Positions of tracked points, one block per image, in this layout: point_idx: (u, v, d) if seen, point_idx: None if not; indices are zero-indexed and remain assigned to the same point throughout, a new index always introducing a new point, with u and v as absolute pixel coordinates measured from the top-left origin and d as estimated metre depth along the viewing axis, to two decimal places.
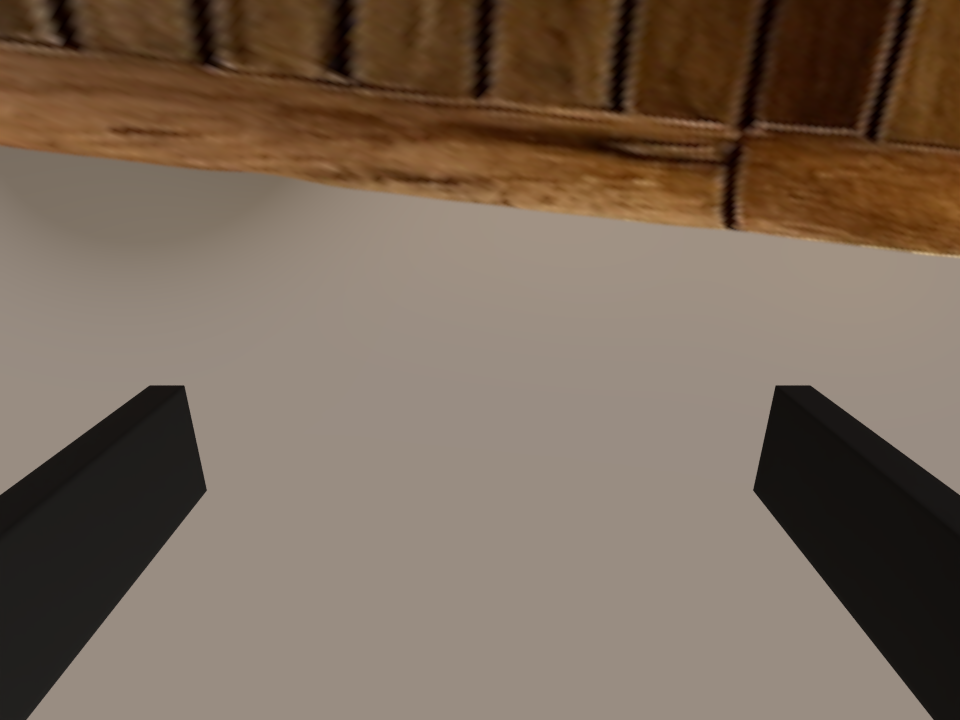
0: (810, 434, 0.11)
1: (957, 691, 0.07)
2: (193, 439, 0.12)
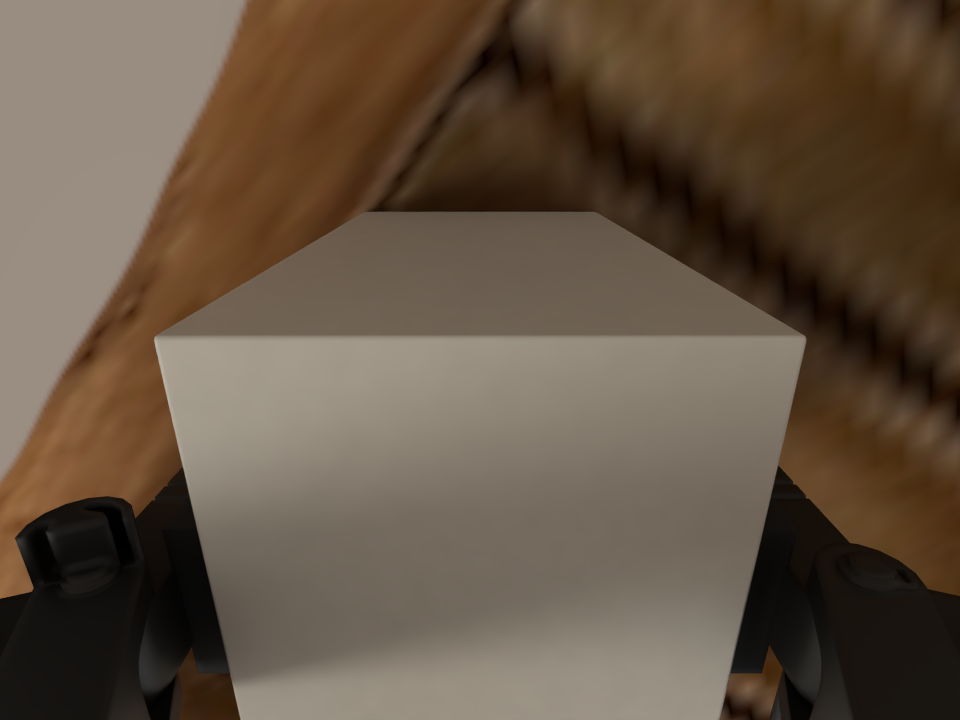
0: None
1: None
2: None
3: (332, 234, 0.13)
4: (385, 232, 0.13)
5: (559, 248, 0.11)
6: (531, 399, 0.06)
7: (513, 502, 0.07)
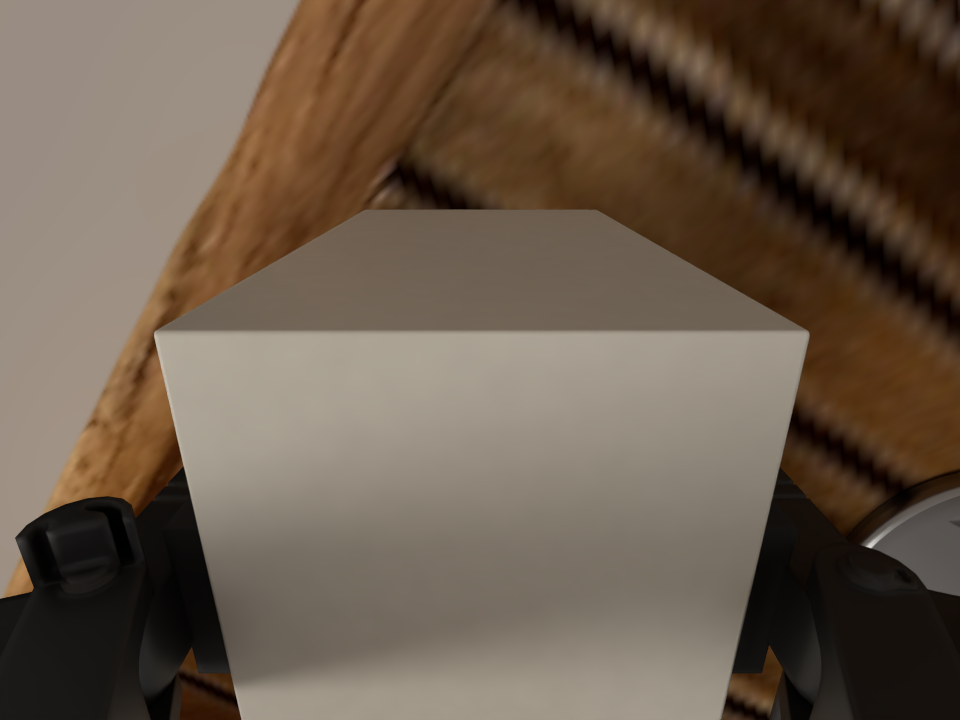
0: None
1: None
2: None
3: (332, 231, 0.13)
4: (386, 229, 0.13)
5: (560, 245, 0.11)
6: (533, 394, 0.06)
7: (514, 499, 0.07)
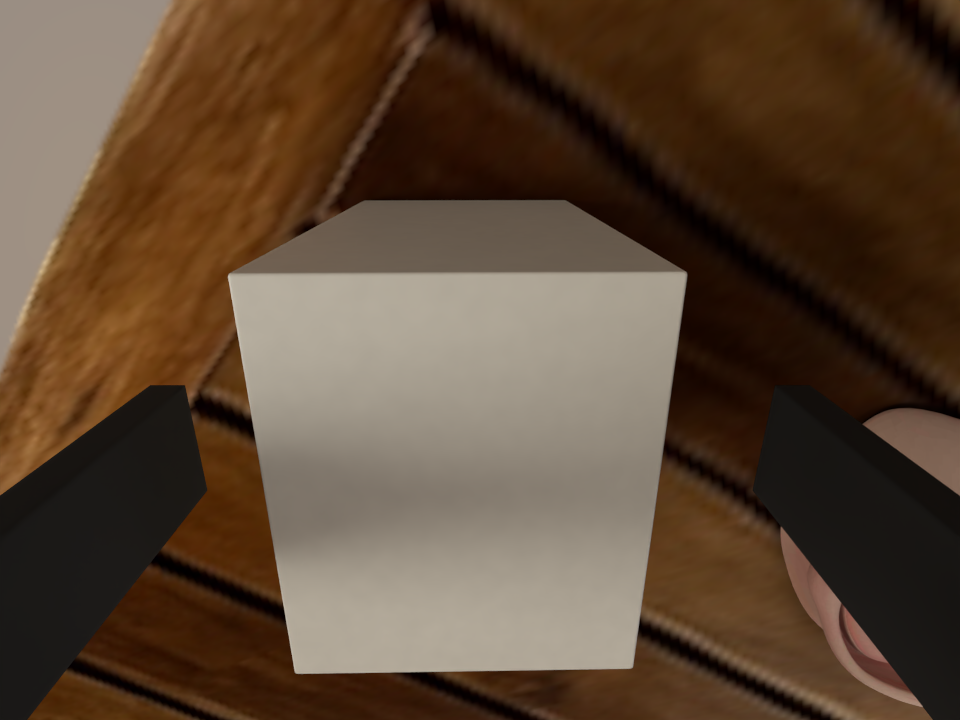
0: (809, 434, 0.11)
1: (956, 691, 0.07)
2: (193, 439, 0.12)
3: (340, 216, 0.15)
4: (384, 214, 0.16)
5: (527, 224, 0.14)
6: (496, 319, 0.09)
7: (484, 398, 0.09)
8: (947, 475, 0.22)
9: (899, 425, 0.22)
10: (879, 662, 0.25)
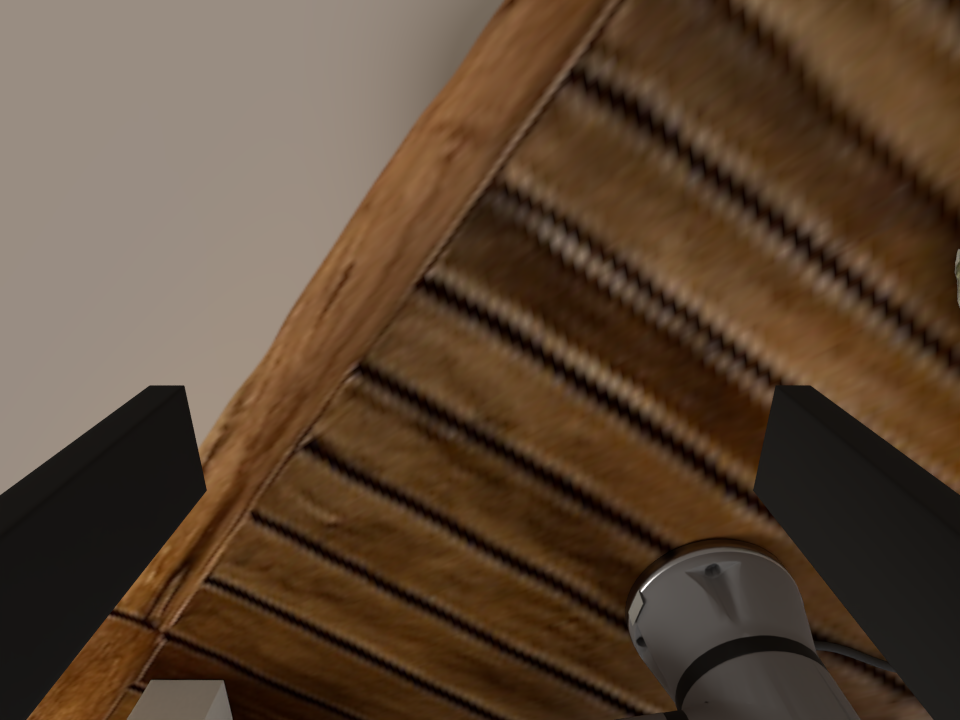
0: (810, 433, 0.11)
1: (957, 691, 0.07)
2: (193, 439, 0.12)
3: None
4: None
5: None
6: None
7: None
8: None
9: None
10: None
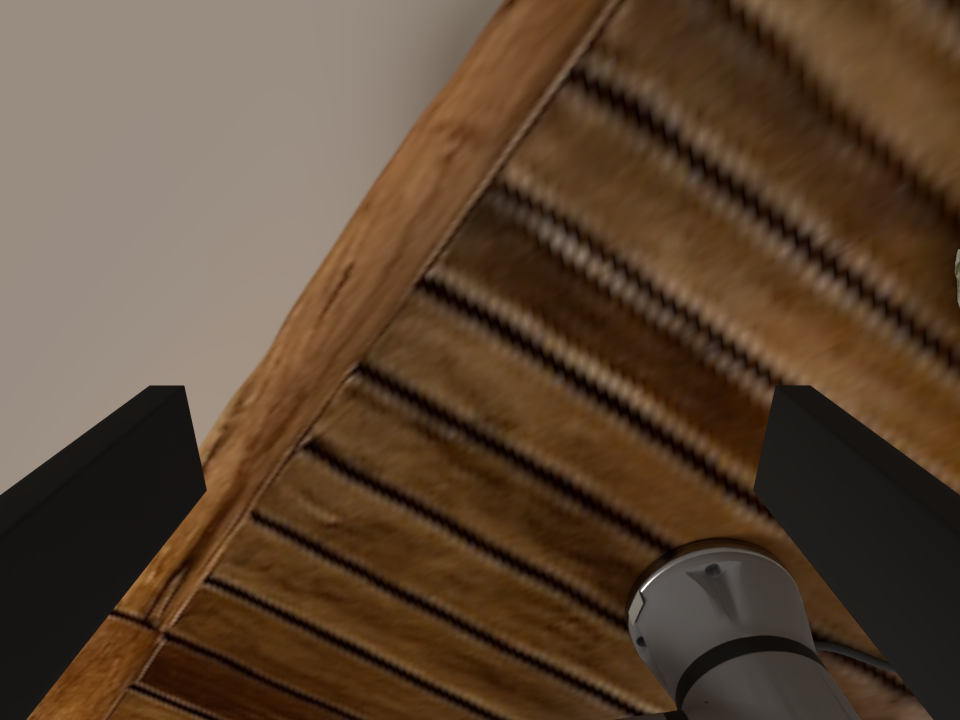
0: (810, 433, 0.11)
1: (957, 691, 0.07)
2: (193, 439, 0.12)
3: None
4: None
5: None
6: None
7: None
8: None
9: None
10: None
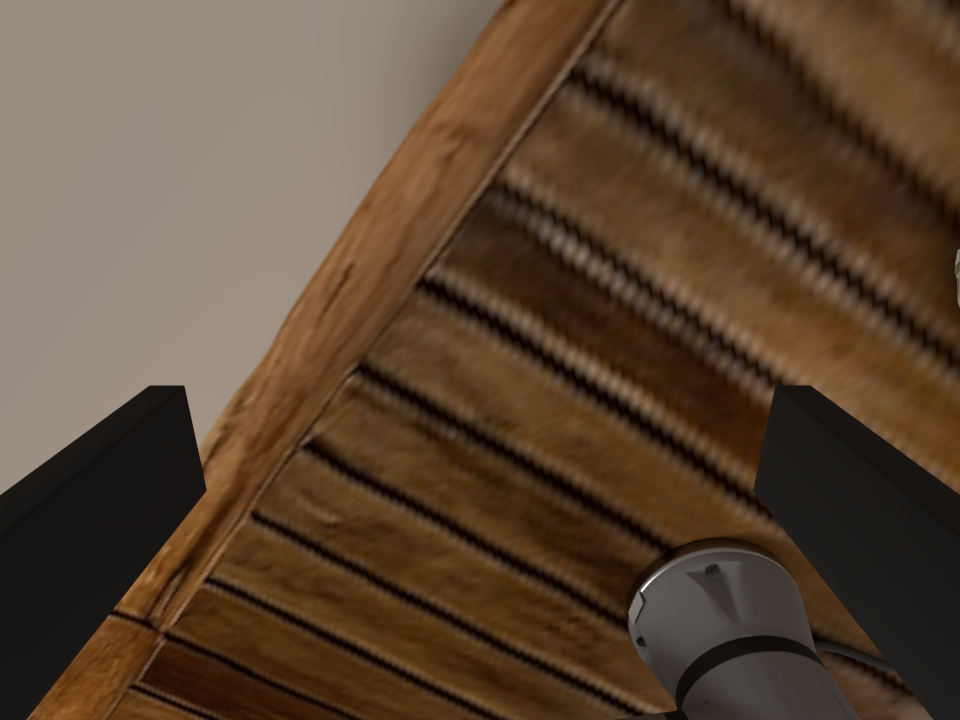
0: (810, 433, 0.11)
1: (957, 691, 0.07)
2: (193, 439, 0.12)
3: None
4: None
5: None
6: None
7: None
8: None
9: None
10: None
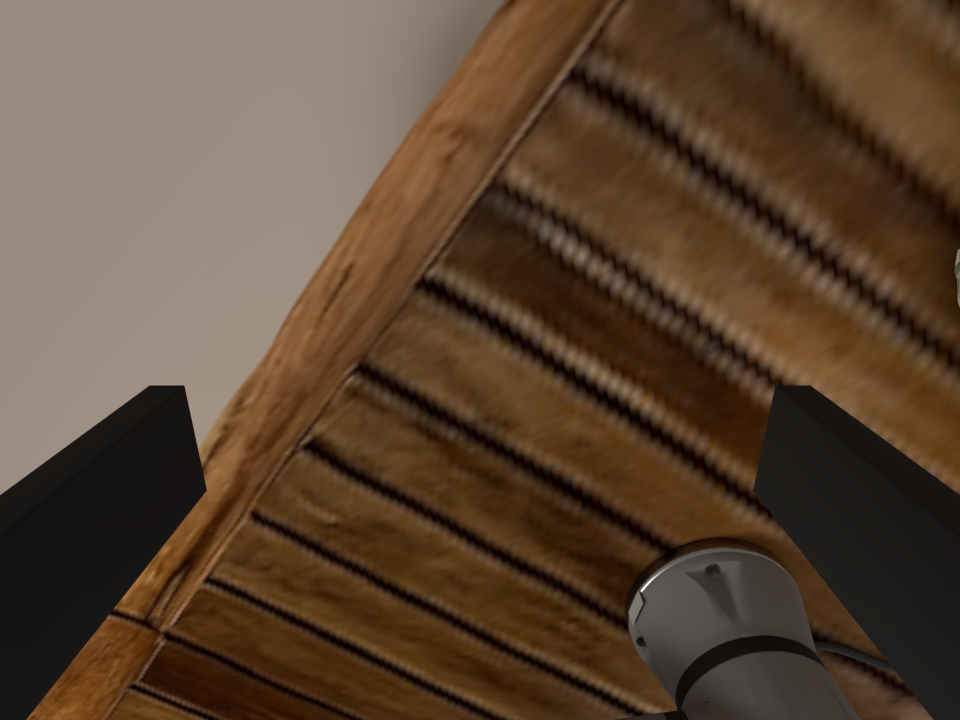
0: (810, 433, 0.11)
1: (957, 691, 0.07)
2: (193, 439, 0.12)
3: None
4: None
5: None
6: None
7: None
8: None
9: None
10: None
